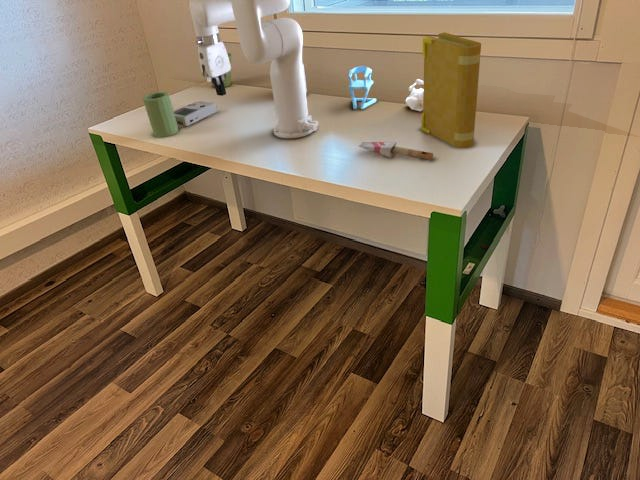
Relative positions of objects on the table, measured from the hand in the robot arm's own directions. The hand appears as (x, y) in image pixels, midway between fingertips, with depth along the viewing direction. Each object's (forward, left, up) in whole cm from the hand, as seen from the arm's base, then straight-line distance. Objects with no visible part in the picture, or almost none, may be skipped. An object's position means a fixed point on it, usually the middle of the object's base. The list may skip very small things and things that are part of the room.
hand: (221, 94), depth 173 cm
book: (-83, -4, -4) cm, 84 cm away
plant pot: (+19, -18, -4) cm, 26 cm away
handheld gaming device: (+1, +13, -4) cm, 14 cm away
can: (-19, -18, -4) cm, 27 cm away
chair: (-47, -17, -4) cm, 50 cm away
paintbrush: (-75, +12, -4) cm, 76 cm away
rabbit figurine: (-67, -20, -4) cm, 70 cm away
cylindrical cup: (+1, +26, -4) cm, 26 cm away
